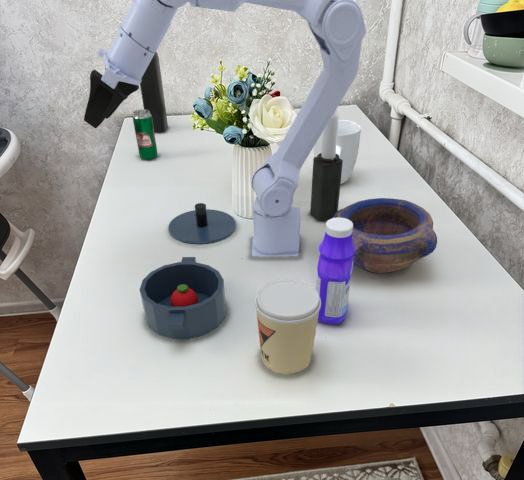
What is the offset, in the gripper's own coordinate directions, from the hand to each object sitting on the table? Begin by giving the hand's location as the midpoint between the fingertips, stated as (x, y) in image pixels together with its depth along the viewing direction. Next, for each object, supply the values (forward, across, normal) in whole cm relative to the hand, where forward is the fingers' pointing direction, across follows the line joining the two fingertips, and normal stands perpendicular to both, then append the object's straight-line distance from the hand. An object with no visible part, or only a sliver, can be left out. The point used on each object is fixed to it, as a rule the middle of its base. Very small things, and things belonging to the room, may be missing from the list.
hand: (96, 119), depth 79 cm
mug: (-10, -39, +50) cm, 64 cm away
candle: (-6, -22, +48) cm, 53 cm away
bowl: (-9, -3, +56) cm, 56 cm away
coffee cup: (+6, +24, +42) cm, 49 cm away
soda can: (+18, -58, +10) cm, 62 cm away
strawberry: (+15, +13, +28) cm, 34 cm away
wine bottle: (+16, -80, +8) cm, 82 cm away
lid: (+11, -17, +26) cm, 33 cm away
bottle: (0, +14, +48) cm, 50 cm away
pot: (+15, +13, +28) cm, 34 cm away
